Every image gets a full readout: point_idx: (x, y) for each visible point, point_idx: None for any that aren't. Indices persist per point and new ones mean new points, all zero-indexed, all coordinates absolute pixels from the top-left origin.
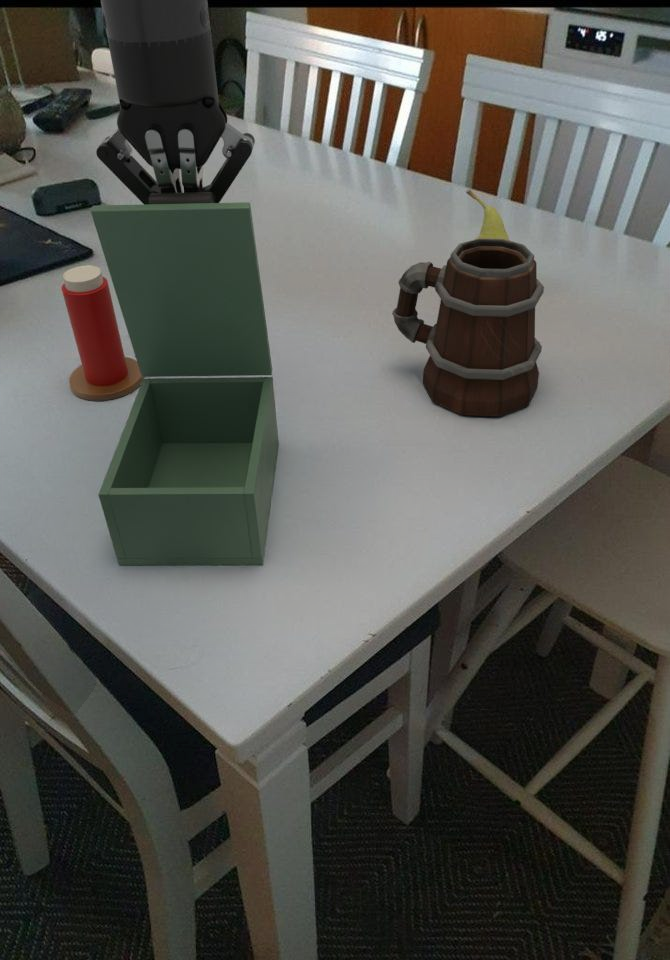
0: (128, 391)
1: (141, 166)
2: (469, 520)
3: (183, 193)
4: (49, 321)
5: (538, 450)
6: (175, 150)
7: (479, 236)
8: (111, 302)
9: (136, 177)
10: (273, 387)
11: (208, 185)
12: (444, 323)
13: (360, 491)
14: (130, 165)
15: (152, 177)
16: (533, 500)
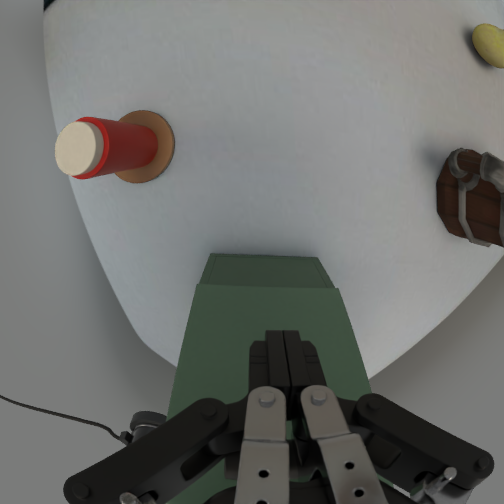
0: (164, 169)
1: (174, 462)
2: (415, 330)
3: (297, 478)
4: (73, 52)
5: (468, 270)
6: None
7: (501, 37)
8: (122, 142)
9: (188, 486)
10: (332, 283)
11: (356, 427)
12: (486, 216)
13: (367, 310)
14: (164, 493)
15: (203, 436)
16: (447, 313)
